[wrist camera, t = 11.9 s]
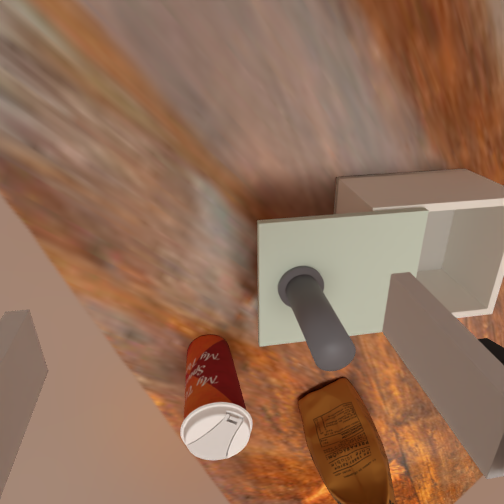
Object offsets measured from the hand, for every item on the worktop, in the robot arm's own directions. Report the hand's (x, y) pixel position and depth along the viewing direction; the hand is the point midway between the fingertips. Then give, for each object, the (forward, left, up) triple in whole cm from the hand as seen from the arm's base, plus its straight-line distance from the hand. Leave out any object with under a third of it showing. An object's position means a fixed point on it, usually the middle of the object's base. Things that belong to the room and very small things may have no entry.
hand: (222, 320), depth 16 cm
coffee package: (+42, +18, -32) cm, 56 cm away
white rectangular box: (+12, +24, -32) cm, 42 cm away
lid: (+12, +13, -21) cm, 28 cm away
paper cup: (+28, 0, -32) cm, 42 cm away
